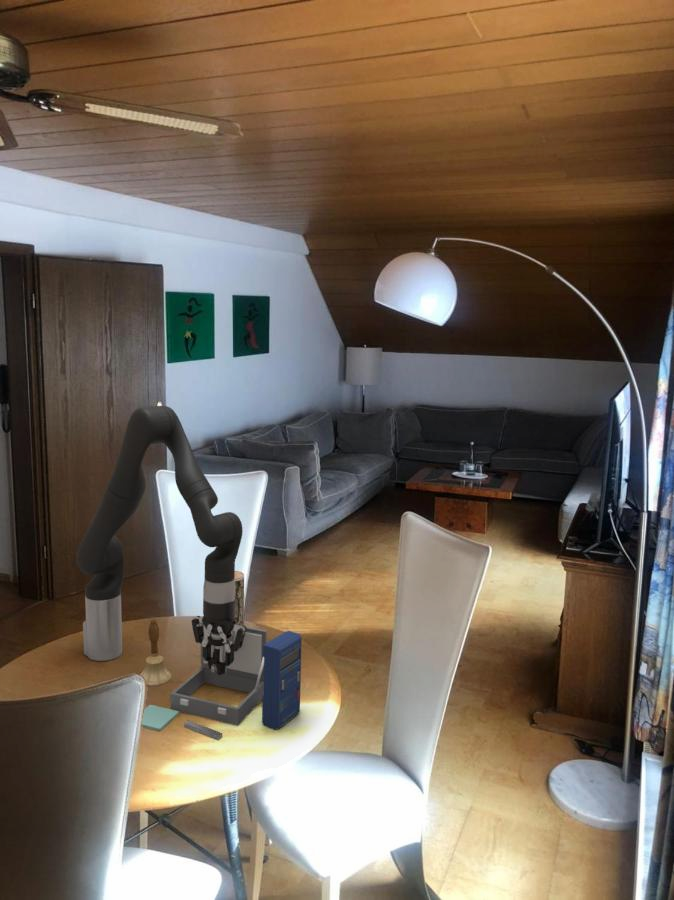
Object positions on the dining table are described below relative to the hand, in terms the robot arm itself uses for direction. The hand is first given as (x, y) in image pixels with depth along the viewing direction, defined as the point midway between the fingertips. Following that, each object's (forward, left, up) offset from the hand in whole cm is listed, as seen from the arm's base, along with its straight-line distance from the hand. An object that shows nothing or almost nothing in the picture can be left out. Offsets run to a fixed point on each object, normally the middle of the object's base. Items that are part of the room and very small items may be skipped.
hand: (218, 662), depth 181 cm
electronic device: (+17, -1, -11) cm, 20 cm away
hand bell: (-21, +4, -11) cm, 24 cm away
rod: (+3, -13, -11) cm, 17 cm away
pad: (-10, -13, -10) cm, 19 cm away
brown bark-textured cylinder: (-7, +19, -11) cm, 23 cm away
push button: (-1, 0, -2) cm, 2 cm away
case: (0, 0, -10) cm, 10 cm away
